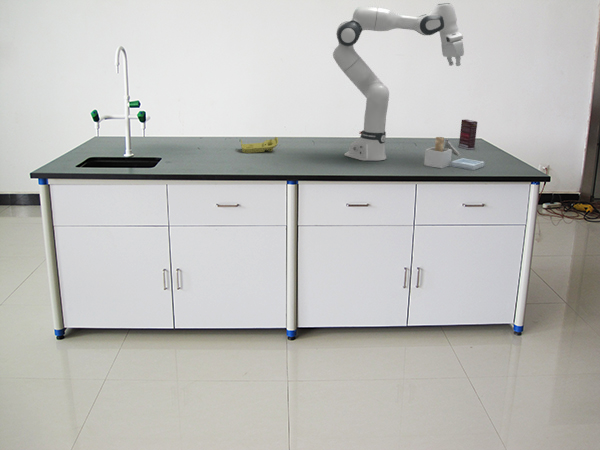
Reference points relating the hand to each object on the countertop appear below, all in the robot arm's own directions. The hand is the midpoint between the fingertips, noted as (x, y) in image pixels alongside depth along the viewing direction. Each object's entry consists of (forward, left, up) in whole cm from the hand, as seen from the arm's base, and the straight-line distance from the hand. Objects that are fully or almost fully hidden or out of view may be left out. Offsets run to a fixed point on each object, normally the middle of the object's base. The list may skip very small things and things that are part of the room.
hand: (454, 65), depth 298 cm
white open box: (+2, -11, -48) cm, 49 cm away
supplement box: (-8, +41, -49) cm, 64 cm away
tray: (+14, -2, -48) cm, 50 cm away
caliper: (-8, +24, -49) cm, 55 cm away
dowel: (+2, -11, -48) cm, 49 cm away
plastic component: (-82, -54, -49) cm, 110 cm away
